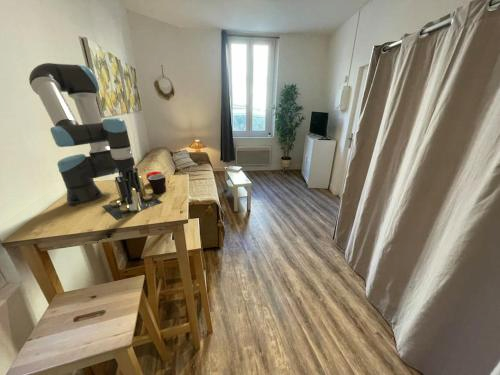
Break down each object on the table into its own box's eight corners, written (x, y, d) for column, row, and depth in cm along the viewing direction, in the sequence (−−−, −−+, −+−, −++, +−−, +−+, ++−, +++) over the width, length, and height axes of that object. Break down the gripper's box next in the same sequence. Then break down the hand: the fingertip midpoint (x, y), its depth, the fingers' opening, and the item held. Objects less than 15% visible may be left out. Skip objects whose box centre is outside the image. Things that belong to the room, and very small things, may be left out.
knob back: (116, 207, 100) (110, 186, 96) (108, 206, 101) (101, 185, 96) (130, 198, 108) (124, 178, 104) (122, 198, 109) (116, 178, 105)
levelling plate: (102, 208, 102) (100, 202, 101) (145, 194, 117) (143, 188, 115) (117, 222, 90) (115, 215, 89) (163, 204, 105) (162, 198, 103)
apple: (163, 181, 135) (161, 169, 132) (164, 185, 127) (162, 173, 124) (148, 183, 132) (145, 171, 128) (148, 188, 124) (145, 176, 121)
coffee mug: (162, 197, 112) (159, 180, 108) (148, 196, 114) (144, 179, 110) (174, 188, 123) (171, 172, 119) (161, 188, 124) (157, 172, 120)
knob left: (154, 198, 108) (149, 178, 104) (145, 201, 105) (140, 181, 101) (145, 193, 114) (141, 174, 109) (137, 196, 110) (132, 177, 106)
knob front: (118, 212, 96) (111, 190, 91) (125, 207, 100) (118, 186, 95) (137, 213, 94) (130, 191, 90) (143, 208, 98) (137, 187, 94)
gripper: (120, 162, 79) (134, 216, 88) (141, 152, 95) (151, 199, 104) (100, 163, 79) (116, 216, 88) (125, 153, 95) (136, 199, 104)
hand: (135, 207), depth 96 cm, fingers open, 3 cm apart
